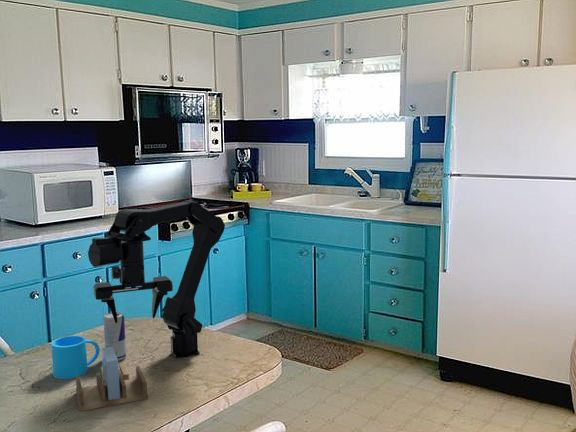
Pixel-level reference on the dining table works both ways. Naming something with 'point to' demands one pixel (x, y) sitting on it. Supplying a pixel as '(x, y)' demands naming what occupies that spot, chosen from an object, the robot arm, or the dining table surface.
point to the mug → (71, 356)
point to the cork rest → (122, 369)
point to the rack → (98, 397)
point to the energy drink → (115, 334)
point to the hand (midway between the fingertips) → (134, 320)
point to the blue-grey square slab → (110, 373)
